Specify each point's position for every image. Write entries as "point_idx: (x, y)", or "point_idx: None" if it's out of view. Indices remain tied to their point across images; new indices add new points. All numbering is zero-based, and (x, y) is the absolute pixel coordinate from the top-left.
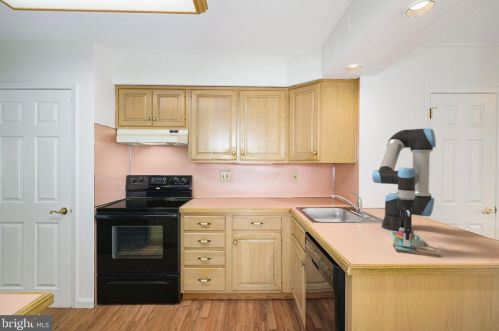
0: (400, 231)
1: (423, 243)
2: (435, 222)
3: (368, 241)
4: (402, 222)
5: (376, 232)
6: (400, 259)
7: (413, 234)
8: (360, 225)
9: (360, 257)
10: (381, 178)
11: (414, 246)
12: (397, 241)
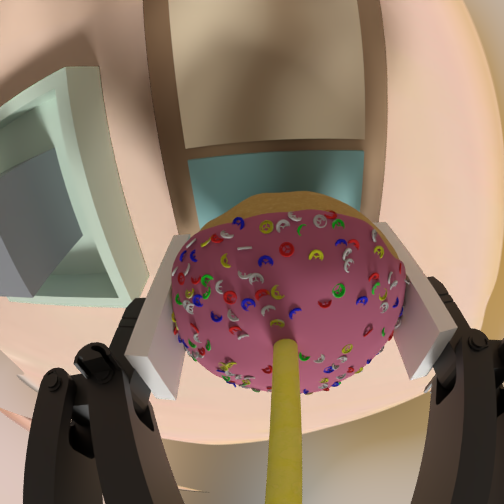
0: (306, 391)
1: (81, 68)
2: None
3: (207, 376)
4: (171, 481)
5: (24, 323)
6: (466, 264)
7: (5, 177)
8: (5, 351)
9: None
10: None
11: (205, 142)
12: (135, 268)
